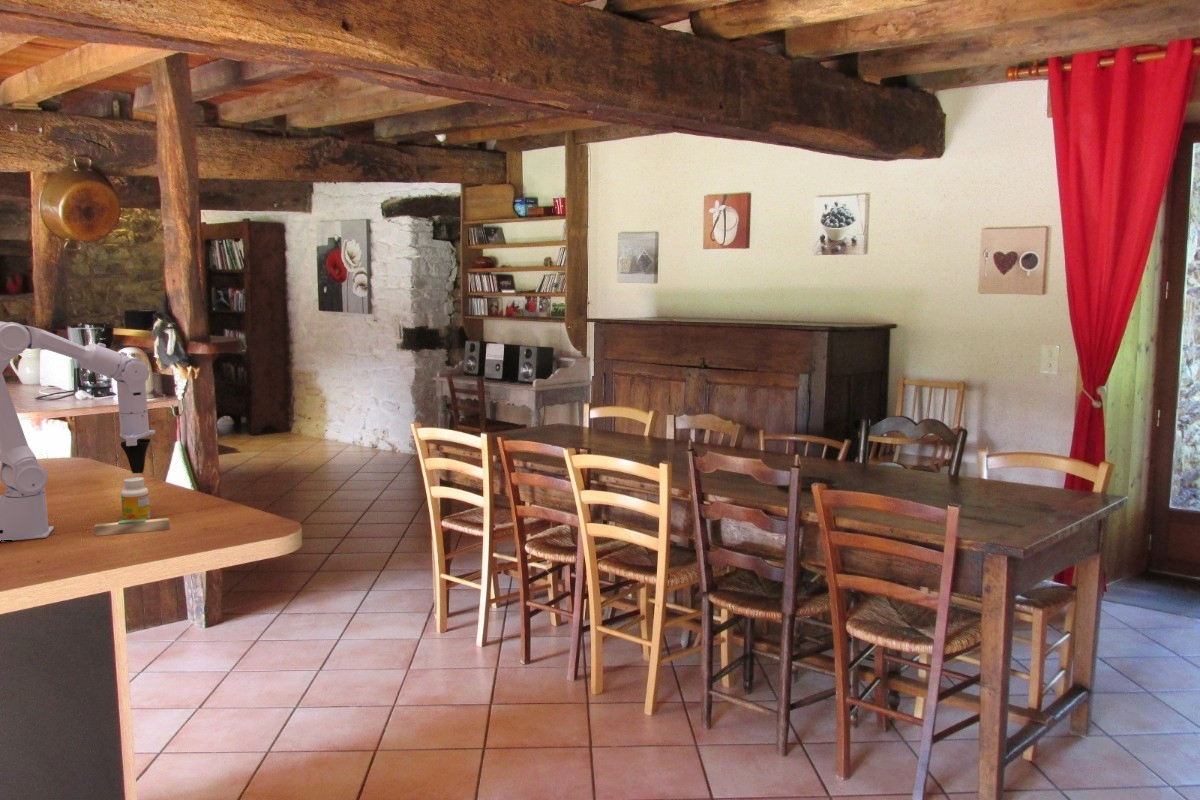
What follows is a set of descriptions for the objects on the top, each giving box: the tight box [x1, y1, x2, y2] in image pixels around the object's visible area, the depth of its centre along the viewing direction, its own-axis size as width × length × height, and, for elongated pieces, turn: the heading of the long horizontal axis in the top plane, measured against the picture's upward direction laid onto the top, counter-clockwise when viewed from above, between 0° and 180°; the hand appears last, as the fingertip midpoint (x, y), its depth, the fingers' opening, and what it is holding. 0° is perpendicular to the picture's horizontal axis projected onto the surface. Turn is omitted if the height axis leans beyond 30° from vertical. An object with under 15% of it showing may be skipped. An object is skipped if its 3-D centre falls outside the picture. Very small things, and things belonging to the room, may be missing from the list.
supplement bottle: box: [120, 476, 151, 521], centre depth 210 cm, size 5×5×10 cm
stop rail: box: [93, 517, 171, 537], centre depth 204 cm, size 14×2×2 cm, turn 109°
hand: (138, 472), depth 216 cm, fingers closed
